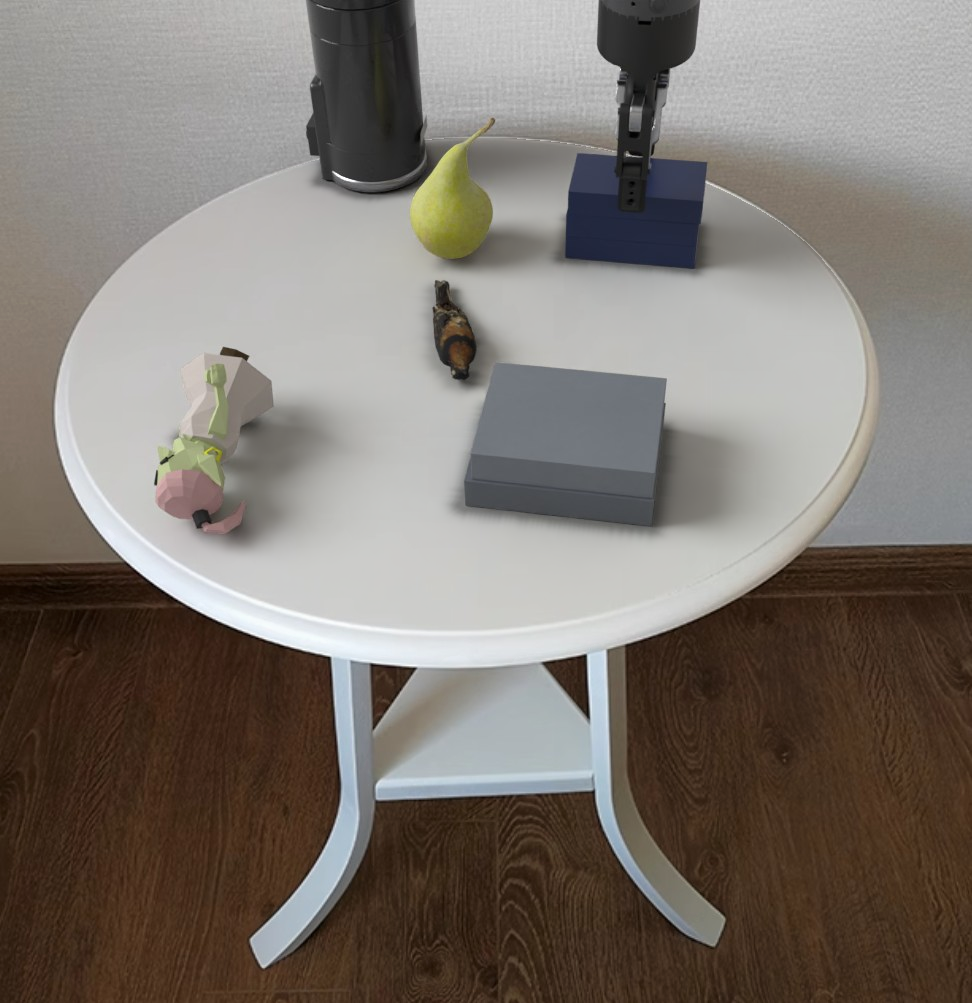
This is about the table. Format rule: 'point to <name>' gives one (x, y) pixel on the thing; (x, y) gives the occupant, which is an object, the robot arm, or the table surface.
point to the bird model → (452, 333)
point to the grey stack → (568, 444)
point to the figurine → (210, 436)
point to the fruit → (452, 206)
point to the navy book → (667, 197)
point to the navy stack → (631, 240)
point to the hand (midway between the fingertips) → (636, 181)
